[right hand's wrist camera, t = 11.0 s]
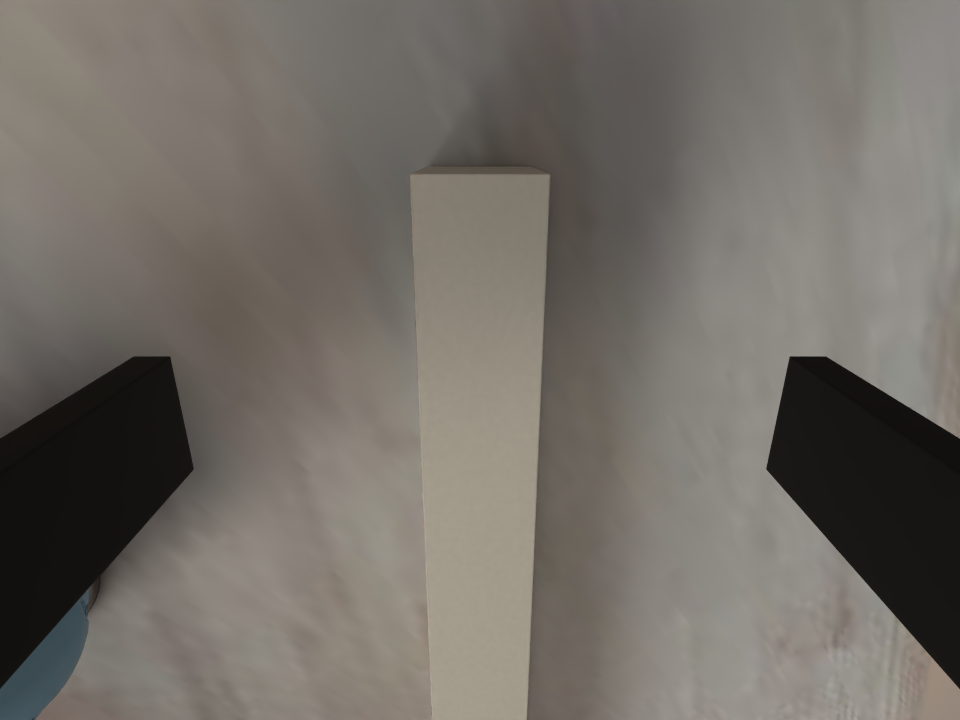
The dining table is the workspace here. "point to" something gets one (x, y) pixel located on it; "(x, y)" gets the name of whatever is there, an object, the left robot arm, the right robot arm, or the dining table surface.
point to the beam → (479, 425)
